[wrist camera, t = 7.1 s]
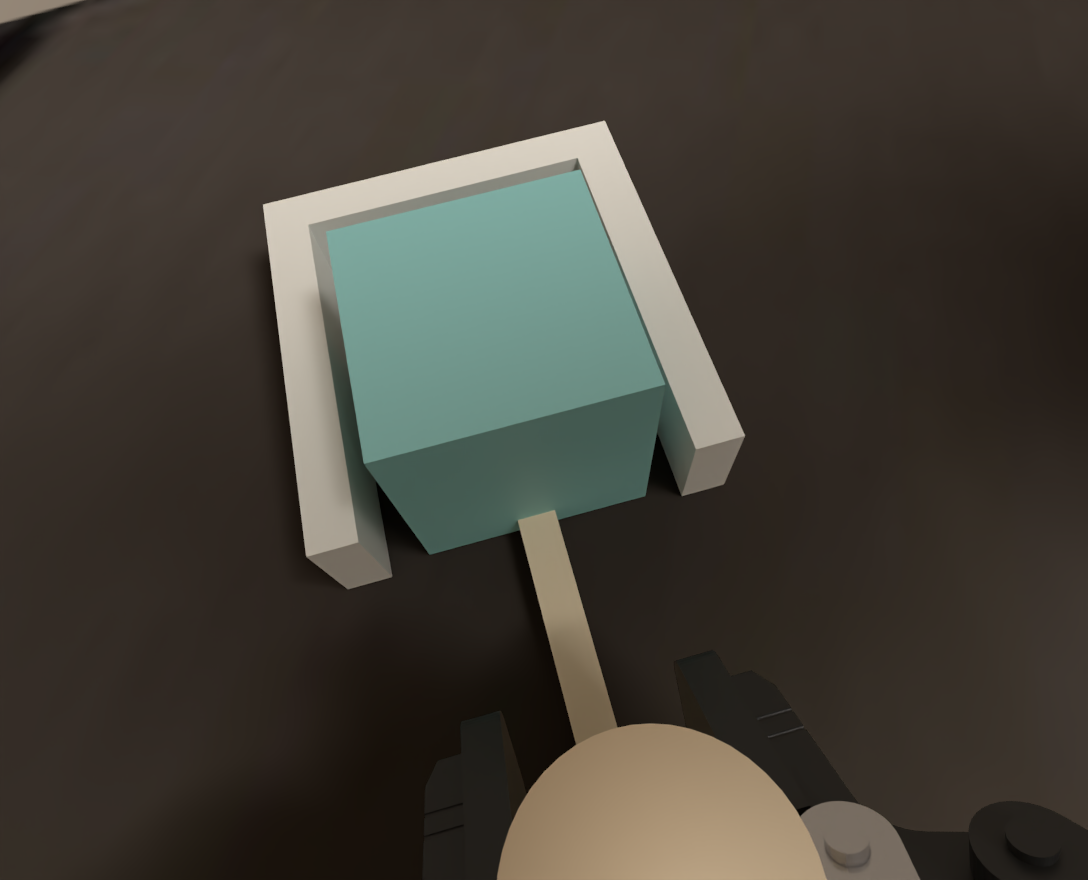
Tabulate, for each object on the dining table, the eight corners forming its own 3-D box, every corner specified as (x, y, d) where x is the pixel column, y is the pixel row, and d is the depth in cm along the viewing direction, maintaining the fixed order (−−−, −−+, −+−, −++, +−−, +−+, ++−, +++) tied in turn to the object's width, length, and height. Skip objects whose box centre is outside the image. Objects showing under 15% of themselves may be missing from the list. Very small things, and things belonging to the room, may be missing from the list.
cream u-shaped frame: (603, 195, 24) (604, 121, 21) (724, 484, 19) (745, 435, 17) (301, 271, 23) (263, 204, 21) (347, 589, 19) (305, 556, 16)
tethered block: (583, 320, 22) (576, -3, 13) (779, 875, 15) (1043, 1011, 6) (393, 369, 21) (248, 73, 12) (509, 958, 15) (381, 1226, 6)
